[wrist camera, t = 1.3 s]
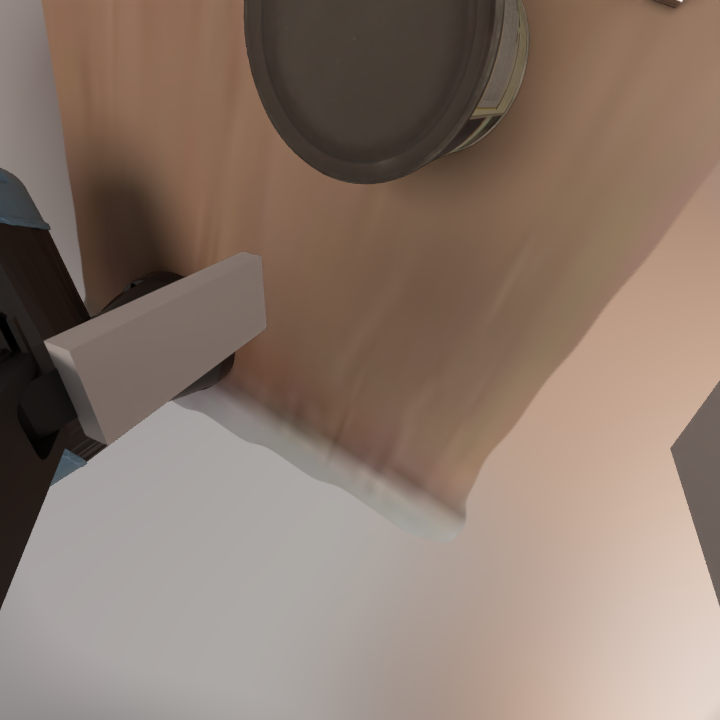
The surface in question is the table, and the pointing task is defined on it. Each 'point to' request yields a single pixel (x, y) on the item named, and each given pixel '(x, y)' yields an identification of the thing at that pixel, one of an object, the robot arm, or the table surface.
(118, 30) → the table surface
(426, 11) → the coffee can
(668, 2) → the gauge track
